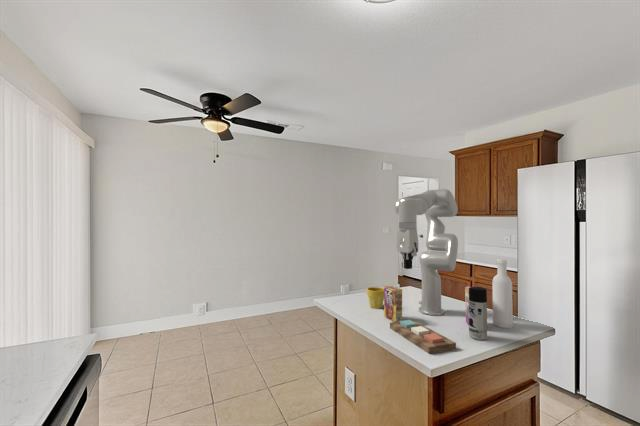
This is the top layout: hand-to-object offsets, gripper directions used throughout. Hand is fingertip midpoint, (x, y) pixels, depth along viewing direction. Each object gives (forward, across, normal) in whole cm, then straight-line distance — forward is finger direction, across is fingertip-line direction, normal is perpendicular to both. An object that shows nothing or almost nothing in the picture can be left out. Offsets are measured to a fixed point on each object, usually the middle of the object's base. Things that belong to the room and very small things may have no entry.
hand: (407, 268), depth 127 cm
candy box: (+27, -15, +2) cm, 31 cm away
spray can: (+27, +15, +23) cm, 39 cm away
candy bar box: (+27, +4, +32) cm, 42 cm away
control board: (+27, +8, 0) cm, 28 cm away
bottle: (+27, +8, +45) cm, 53 cm away
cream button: (+26, +8, 0) cm, 28 cm away
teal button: (+26, 0, 0) cm, 26 cm away
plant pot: (+27, -35, +4) cm, 44 cm away
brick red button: (+26, +16, 0) cm, 31 cm away
